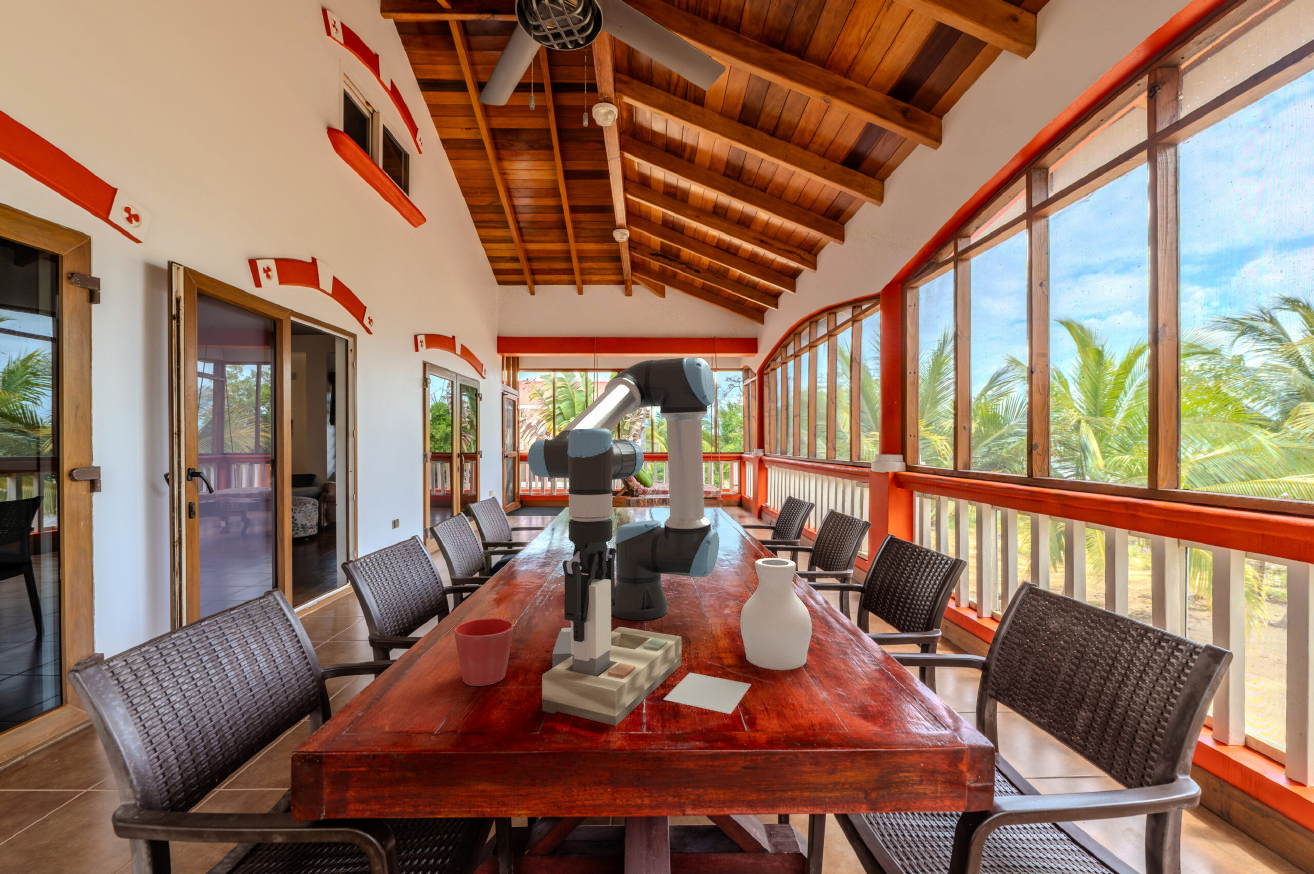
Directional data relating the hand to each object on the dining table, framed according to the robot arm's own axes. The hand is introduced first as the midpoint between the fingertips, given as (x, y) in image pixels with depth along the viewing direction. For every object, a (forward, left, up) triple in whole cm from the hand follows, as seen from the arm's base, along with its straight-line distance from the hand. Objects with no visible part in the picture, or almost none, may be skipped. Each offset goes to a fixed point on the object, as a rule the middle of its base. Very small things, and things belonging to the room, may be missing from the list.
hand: (591, 652), depth 97 cm
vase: (-31, +24, -8) cm, 40 cm away
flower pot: (0, -24, -8) cm, 25 cm away
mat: (-11, +17, -8) cm, 22 cm away
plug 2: (0, 0, -3) cm, 3 cm away
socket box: (-7, +1, -8) cm, 11 cm away
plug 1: (-12, -13, -8) cm, 19 cm away
